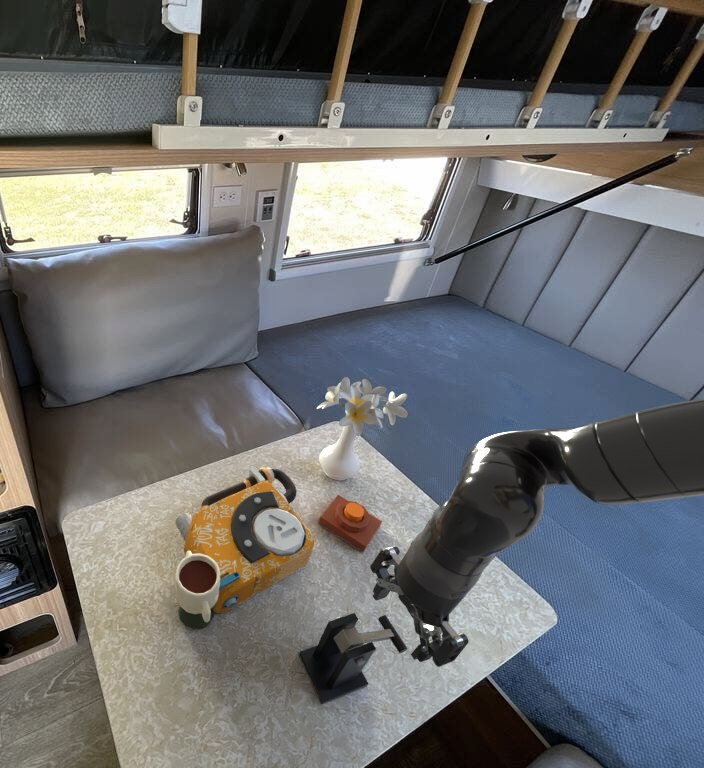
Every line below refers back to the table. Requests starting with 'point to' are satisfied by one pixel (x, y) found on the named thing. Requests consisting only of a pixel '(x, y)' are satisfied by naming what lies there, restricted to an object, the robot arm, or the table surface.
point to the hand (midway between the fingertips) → (397, 624)
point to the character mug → (197, 589)
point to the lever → (369, 637)
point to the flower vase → (355, 423)
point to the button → (354, 512)
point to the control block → (349, 524)
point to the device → (249, 535)
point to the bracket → (336, 662)
